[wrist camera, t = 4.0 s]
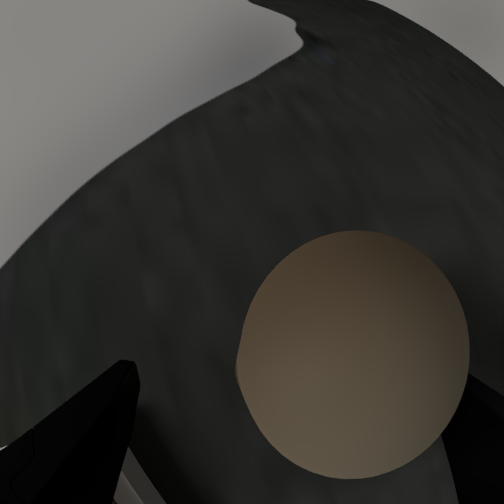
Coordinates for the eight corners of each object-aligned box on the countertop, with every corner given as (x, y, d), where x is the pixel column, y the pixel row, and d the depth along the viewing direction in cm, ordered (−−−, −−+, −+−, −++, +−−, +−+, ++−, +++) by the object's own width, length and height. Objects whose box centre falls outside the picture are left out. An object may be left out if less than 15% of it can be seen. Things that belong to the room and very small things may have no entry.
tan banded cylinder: (312, 379, 16) (496, 370, 4) (256, 413, 15) (327, 522, 3) (279, 326, 17) (389, 196, 5) (222, 358, 16) (188, 307, 4)
